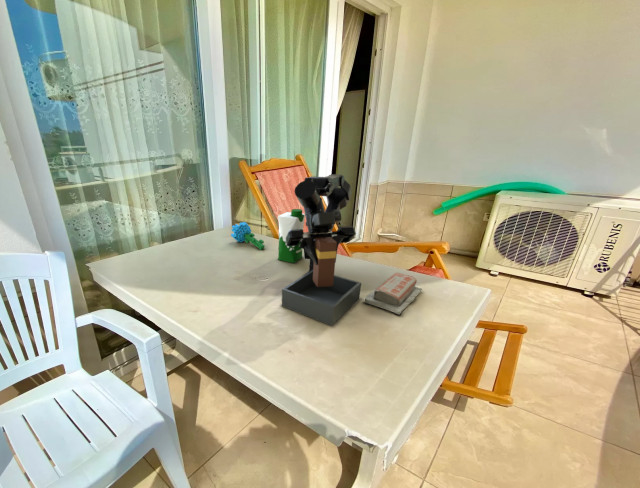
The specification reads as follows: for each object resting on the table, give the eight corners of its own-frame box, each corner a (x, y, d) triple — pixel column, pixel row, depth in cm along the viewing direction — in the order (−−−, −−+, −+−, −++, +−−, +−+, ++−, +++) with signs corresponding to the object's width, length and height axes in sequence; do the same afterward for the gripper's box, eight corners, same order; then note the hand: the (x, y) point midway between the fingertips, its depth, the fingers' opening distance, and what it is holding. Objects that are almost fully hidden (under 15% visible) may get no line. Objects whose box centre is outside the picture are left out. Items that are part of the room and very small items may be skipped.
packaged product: (390, 268, 98) (424, 277, 91) (388, 282, 99) (421, 292, 93) (365, 288, 86) (402, 300, 79) (363, 303, 88) (399, 316, 81)
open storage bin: (312, 284, 100) (313, 269, 98) (359, 299, 90) (361, 282, 88) (281, 305, 88) (281, 289, 86) (331, 326, 78) (333, 307, 76)
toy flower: (253, 258, 131) (229, 239, 143) (268, 253, 137) (243, 235, 148) (256, 241, 127) (231, 222, 138) (272, 236, 132) (246, 219, 143)
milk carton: (295, 264, 115) (297, 213, 108) (274, 260, 120) (275, 210, 113) (305, 257, 122) (307, 208, 115) (285, 253, 127) (286, 206, 120)
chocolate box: (312, 279, 89) (314, 237, 84) (327, 278, 89) (330, 236, 84) (317, 287, 84) (320, 243, 80) (333, 286, 85) (337, 242, 80)
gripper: (288, 201, 81) (298, 254, 75) (356, 197, 83) (371, 249, 76) (282, 221, 92) (290, 270, 85) (342, 218, 93) (354, 265, 86)
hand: (325, 263), depth 83 cm, fingers closed on chocolate box, 4 cm apart
